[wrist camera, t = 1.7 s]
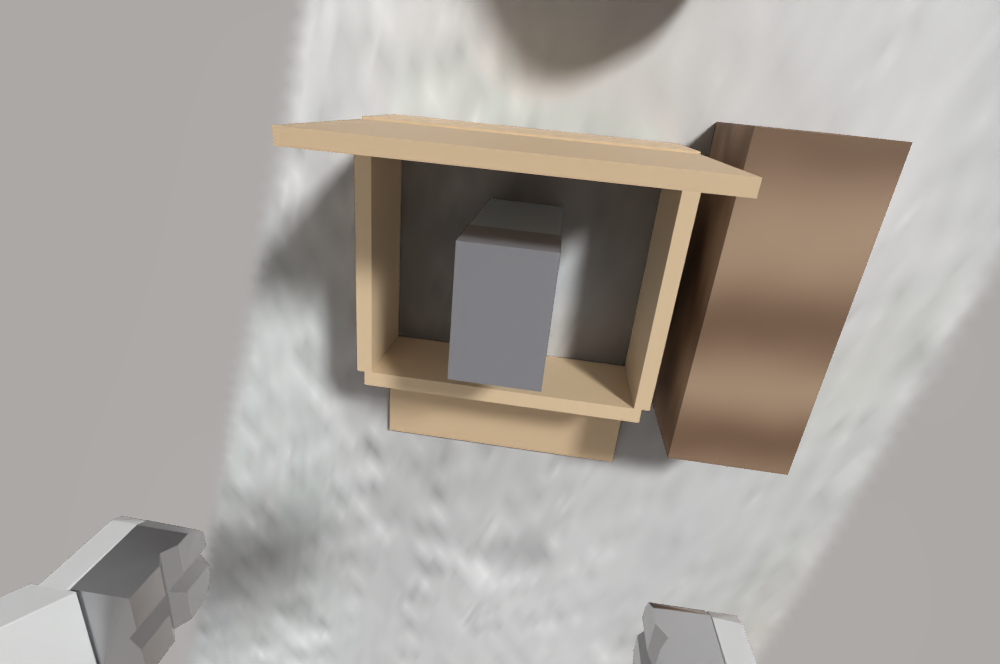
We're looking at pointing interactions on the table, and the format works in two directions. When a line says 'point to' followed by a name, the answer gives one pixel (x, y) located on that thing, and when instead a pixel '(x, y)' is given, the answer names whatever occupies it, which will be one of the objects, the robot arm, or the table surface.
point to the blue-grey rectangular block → (505, 294)
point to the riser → (769, 291)
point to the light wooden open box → (566, 382)
